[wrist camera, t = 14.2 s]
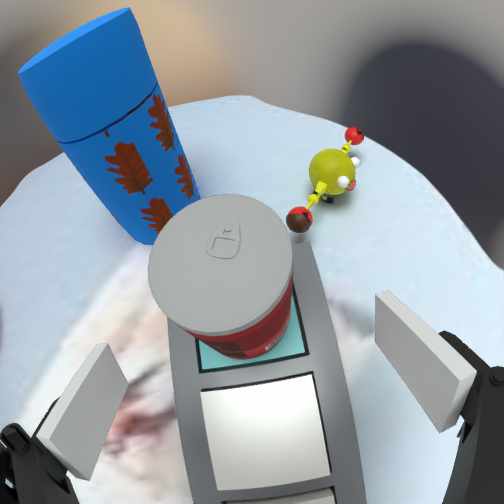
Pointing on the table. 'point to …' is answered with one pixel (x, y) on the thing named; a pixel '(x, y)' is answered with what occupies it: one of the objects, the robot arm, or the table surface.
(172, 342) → the keypad frame
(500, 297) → the table surface
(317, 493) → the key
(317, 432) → the key middle
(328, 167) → the toy figure
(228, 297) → the canned food
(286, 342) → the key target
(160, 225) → the thermos
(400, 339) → the robot arm
